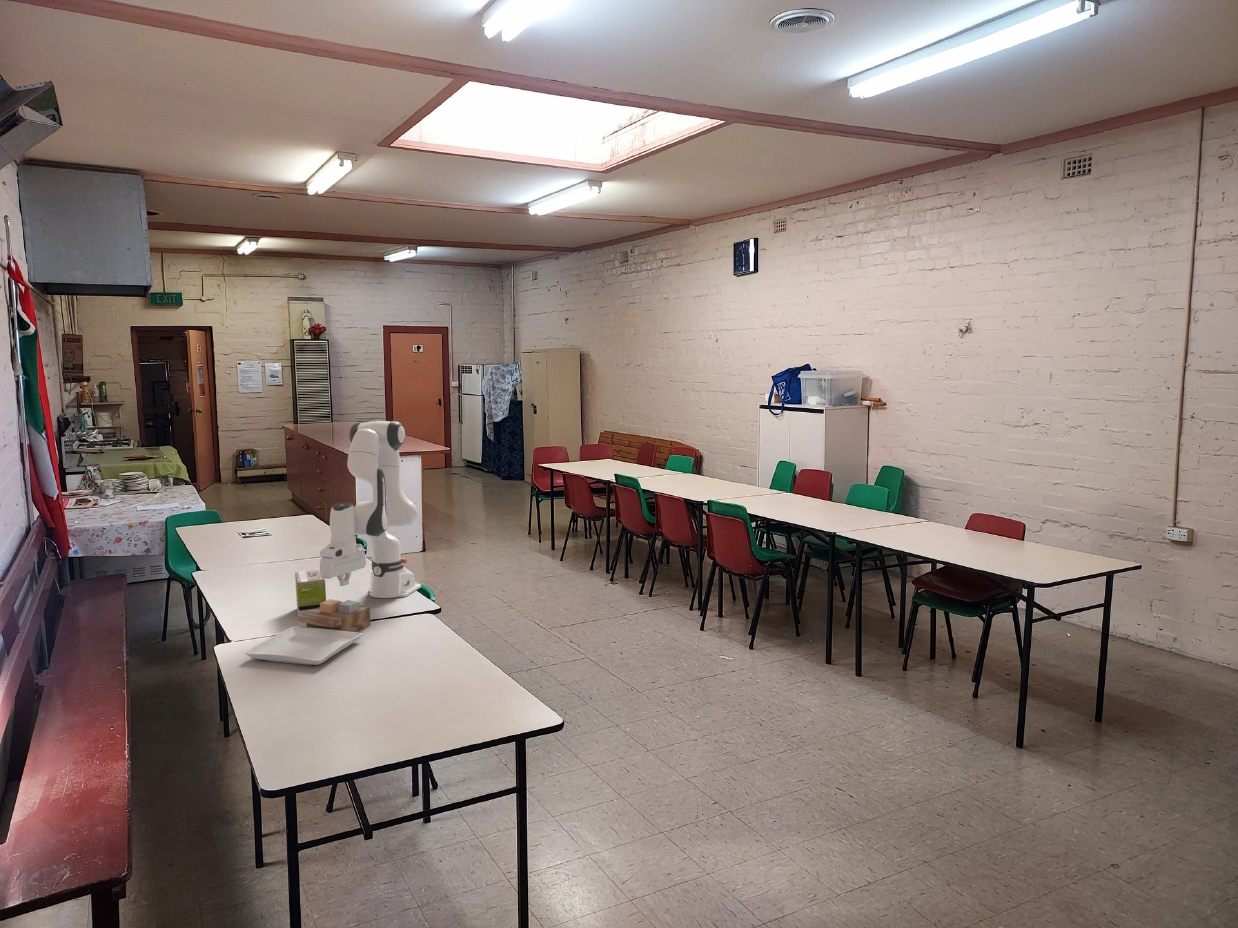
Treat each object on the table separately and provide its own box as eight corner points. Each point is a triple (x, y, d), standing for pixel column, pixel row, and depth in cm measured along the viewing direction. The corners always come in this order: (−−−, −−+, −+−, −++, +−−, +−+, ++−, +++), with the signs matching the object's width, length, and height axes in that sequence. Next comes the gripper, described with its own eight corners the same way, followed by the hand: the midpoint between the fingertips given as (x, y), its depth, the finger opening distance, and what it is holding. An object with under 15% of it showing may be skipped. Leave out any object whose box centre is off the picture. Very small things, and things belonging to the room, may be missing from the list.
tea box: (296, 608, 316) (294, 571, 314) (323, 605, 320) (322, 568, 318) (298, 620, 302) (297, 581, 300) (327, 616, 306) (326, 578, 304)
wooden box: (336, 619, 304) (335, 600, 303) (370, 625, 297) (370, 606, 296) (297, 634, 286) (297, 615, 285) (333, 641, 280) (332, 622, 279)
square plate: (320, 671, 256) (320, 659, 255) (243, 663, 261) (242, 652, 260) (364, 641, 282) (363, 630, 281) (293, 635, 287) (292, 624, 287)
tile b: (348, 608, 295) (348, 600, 294) (359, 609, 293) (359, 601, 292) (338, 611, 290) (338, 603, 290) (349, 613, 288) (349, 605, 288)
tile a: (330, 607, 295) (330, 599, 295) (341, 609, 293) (340, 600, 293) (320, 611, 291) (320, 602, 290) (331, 612, 289) (330, 604, 288)
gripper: (356, 541, 307) (357, 577, 308) (316, 552, 288) (317, 590, 290) (369, 543, 304) (370, 579, 306) (330, 554, 286) (331, 592, 287)
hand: (344, 584), depth 297 cm, fingers closed
